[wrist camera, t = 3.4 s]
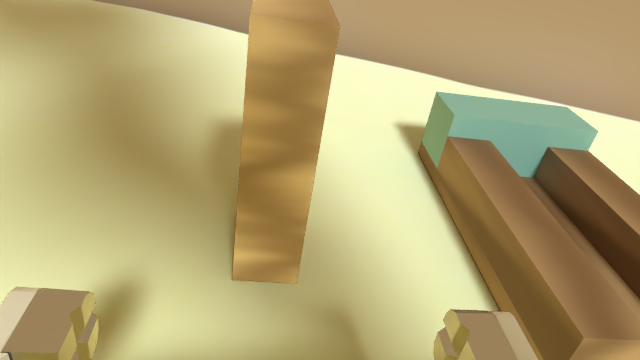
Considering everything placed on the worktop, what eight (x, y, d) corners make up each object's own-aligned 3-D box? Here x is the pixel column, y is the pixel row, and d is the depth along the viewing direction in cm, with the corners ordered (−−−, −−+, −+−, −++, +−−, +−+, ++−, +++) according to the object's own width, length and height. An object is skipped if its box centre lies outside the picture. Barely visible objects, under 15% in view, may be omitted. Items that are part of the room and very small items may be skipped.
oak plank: (232, 279, 21) (250, 13, 15) (239, 214, 25) (256, -15, 19) (296, 283, 22) (340, 26, 15) (293, 218, 26) (327, -4, 20)
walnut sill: (544, 395, 18) (603, 309, 16) (418, 152, 35) (436, 91, 33) (759, 399, 20) (845, 321, 17) (539, 164, 37) (566, 107, 34)
